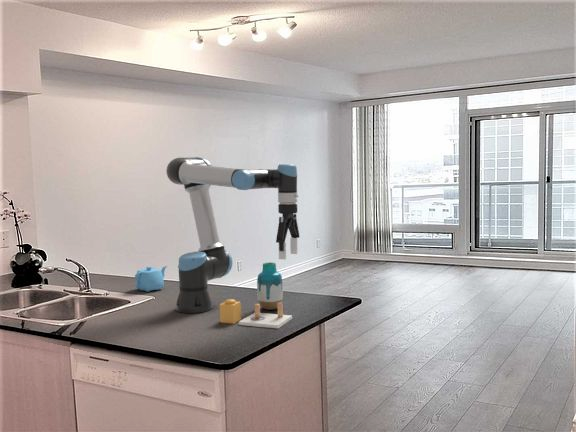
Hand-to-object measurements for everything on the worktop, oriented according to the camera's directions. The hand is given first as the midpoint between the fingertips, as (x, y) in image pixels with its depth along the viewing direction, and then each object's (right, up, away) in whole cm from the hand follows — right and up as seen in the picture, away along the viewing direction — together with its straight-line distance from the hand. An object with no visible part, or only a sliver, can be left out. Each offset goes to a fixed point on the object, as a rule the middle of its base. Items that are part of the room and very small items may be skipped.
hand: (288, 256), depth 224 cm
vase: (-7, -23, +9) cm, 25 cm away
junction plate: (-9, -24, -10) cm, 28 cm away
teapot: (-67, -20, +53) cm, 88 cm away
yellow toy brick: (-22, -24, -8) cm, 34 cm away
